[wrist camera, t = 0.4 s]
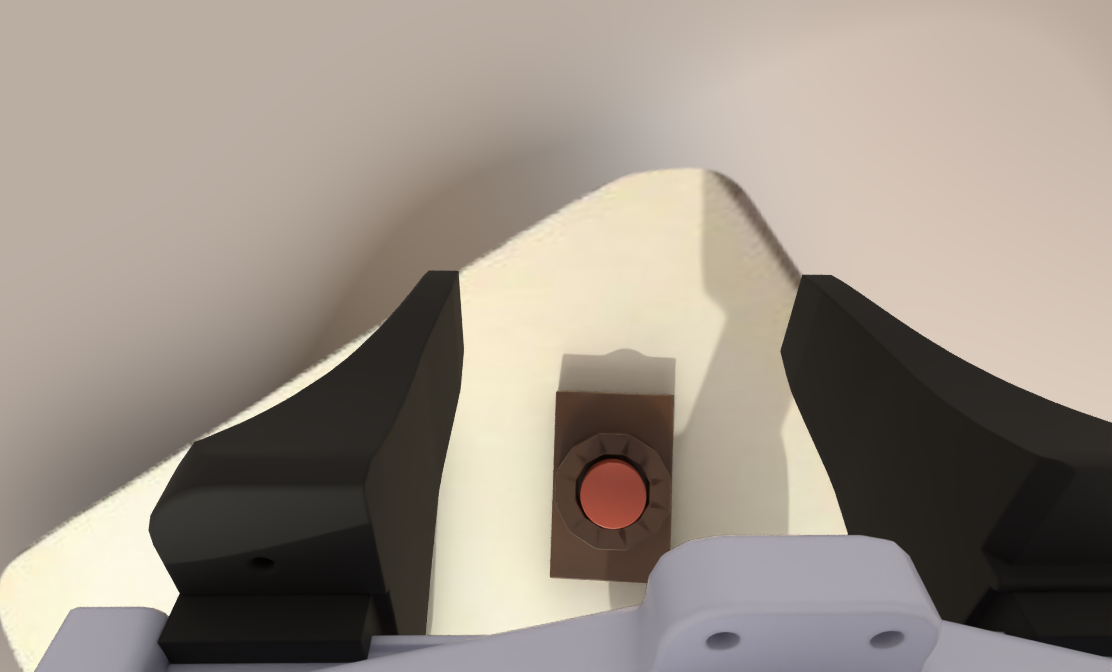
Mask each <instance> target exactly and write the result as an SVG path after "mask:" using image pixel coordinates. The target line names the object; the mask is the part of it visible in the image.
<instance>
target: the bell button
mask: <svg viewBox="0 0 1112 672" xmlns="http://www.w3.org/2000/svg"><path fill="white" fill-rule="evenodd" d="M580 500H581V504H582V507H583V510H584V512H585V513H586V515H587V516H588V517H589V518H590V519H591V520H592V521H593V522H594V523H595V524H597V525H599V526H601V527H604V528H608V529H619V528H623V527H626V526H628V525H630V524H632V523H633V522H634V521H636V520H637V519H638V518H639V516H640V515H641V513H642V512H643V510H644V507H645V503H646V489H645V485H644V483H643V480H642V478H641V476H640V474H639V473H638V471H637V470H636V469H635V468H634V467H633V466H632V465H630V464H629V463H627V462H625V461H622V460H619V459H605V460H602V461H599V462H597V463H596V464H594V465H593V466H592V467H591V468H590V469H589V470H588V471H587V472H586V474H585V476H584V478H583V480H582V484H581V490H580Z"/></svg>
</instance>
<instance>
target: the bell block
mask: <svg viewBox="0 0 1112 672" xmlns="http://www.w3.org/2000/svg"><path fill="white" fill-rule="evenodd" d="M673 413H674V396H673V395H670V394H643V393H614V392H585V391H557V392H556V409H555V440H554V470H553V500H552V530H551V560H550V578H561V579H580V580H599V581H618V582H636V583H648V578H649V575H650V573H651V572H652V570H653V568H654V567H655V565H656V564H657V562H658V561H659V559H660V558H661V556H662V555H664V554H665V553H666V552H668V551H670V542H671V499H672V456H673ZM605 459H619V460H622V461H625V462H627V463H629V464H630V465H632V466H633V467H634V468H635V469H636V470H637V471H638V473H639V474H640V476H641V478H642V480H643V483H644V485H645V489H646V503H645V507H644V510H643V512H642V513H641V515H640V516H639V518H638V519H637V520H636V521H634V522H633V523H632V524H630V525H628V526H626V527H623V528H619V529H608V528H604V527H601V526H599V525H597V524H595V523H594V522H593V521H592V520H591V519H590V518H589V517H588V516H587V515H586V513H585V512H584V510H583V507H582V504H581V500H580V490H581V484H582V480H583V478H584V476H585V474H586V472H587V471H588V470H589V469H590V468H591V467H592V466H593V465H594V464H596V463H597V462H599V461H602V460H605Z"/></svg>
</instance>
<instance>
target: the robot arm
mask: <svg viewBox="0 0 1112 672" xmlns="http://www.w3.org/2000/svg"><path fill="white" fill-rule="evenodd" d="M780 352H781V356H782V360H783V364H784V368H785V372H786V375H787V379H788V382H789V386H790V389H791V392H792V394H793V397H794V399H795V402H796V404H797V406H798V408H799V411H800V413H801V415H802V418H803V420H804V422H805V424H806V427H807V429H808V431H809V433H810V435H811V438H812V440H813V442H814V444H815V447H816V449H817V451H818V453H819V455H820V458H821V460H822V462H823V464H824V466H825V469H826V471H827V473H828V476H829V478H830V481H831V483H832V486H833V488H834V491H835V494H836V497H837V500H838V503H839V507H840V510H841V513H842V516H843V519H844V523H845V526H846V529H847V532H848V535H718V536H712V537H706V538H699V539H693V540H689V541H687V542H685V543H683V544H681V545H679V546H677V547H676V548H674V549H672V550H670V551H668V552H666V553H665V554H664V555H662V556H661V558H660V559H659V561H658V562H657V564H656V565H655V567H654V568H653V570H652V572H651V573H650V575H649V578H648V583H647V589H646V594H645V597H644V600H643V602H642V604H640V605H635V606H630V607H625V608H621V609H616V610H611V611H606V612H601V613H596V614H591V615H586V616H581V617H576V618H571V619H566V620H561V621H556V622H551V623H546V624H541V625H536V626H532V627H527V628H522V629H517V630H512V631H507V632H502V633H497V634H492V635H426V622H427V610H428V599H429V587H430V575H431V565H432V554H433V544H434V534H435V524H436V515H437V505H438V496H439V489H440V483H441V477H442V472H443V467H444V462H445V458H446V453H447V449H448V444H449V440H450V435H451V431H452V426H453V422H454V417H455V413H456V408H457V403H458V399H459V394H460V389H461V378H462V367H463V355H464V343H463V329H462V315H461V300H460V286H459V272H458V271H428V272H427V273H426V274H425V275H424V276H423V277H422V279H421V280H420V281H419V282H418V284H417V285H416V286H415V287H414V289H413V290H412V291H411V293H410V294H409V295H408V296H407V297H406V298H405V300H404V301H403V302H402V303H401V305H400V306H399V307H398V308H397V309H396V310H395V311H394V312H393V314H392V315H391V316H390V317H389V318H388V319H387V320H386V321H385V322H384V323H383V324H382V326H381V327H380V328H379V329H378V330H377V331H376V332H375V333H374V334H372V335H371V336H370V337H369V338H368V339H367V340H366V341H365V342H364V343H363V344H362V345H361V346H360V347H359V348H358V349H357V350H356V351H355V352H354V353H352V354H351V355H350V356H349V357H348V358H347V359H345V360H344V361H343V362H342V363H340V364H339V365H338V366H336V367H335V368H334V369H333V370H331V371H330V372H328V373H327V374H326V375H324V376H323V377H321V378H320V379H318V380H317V381H315V382H313V383H312V384H310V385H309V386H307V387H306V388H304V389H303V390H301V391H300V392H298V393H297V394H295V395H293V396H292V397H290V398H288V399H287V400H285V401H283V402H281V403H279V404H278V405H276V406H274V407H272V408H270V409H268V410H266V411H264V412H262V413H260V414H258V415H256V416H255V417H252V418H250V419H248V420H246V421H244V422H242V423H240V424H237V425H235V426H233V427H230V428H228V429H225V430H223V431H221V432H218V433H216V434H214V435H211V436H209V437H207V438H204V439H201V440H199V441H196V442H194V443H193V445H192V446H191V448H190V449H189V451H188V452H187V454H186V455H185V456H184V458H183V459H182V461H181V462H180V464H179V465H178V467H177V469H176V470H175V472H174V474H173V476H172V477H171V479H170V481H169V483H168V485H167V486H166V488H165V490H164V492H163V494H162V496H161V497H160V499H159V501H158V503H157V505H156V506H155V508H154V510H153V512H152V514H151V516H150V523H149V533H150V536H151V539H152V542H153V545H154V547H155V549H156V551H157V552H158V554H159V556H160V558H161V560H162V562H163V564H164V565H165V567H166V569H167V571H168V573H169V575H170V576H171V578H172V580H173V582H174V584H175V586H176V588H177V589H178V591H179V593H180V594H179V596H178V598H177V601H176V603H175V605H174V607H173V609H172V611H171V614H170V616H168V615H167V614H166V613H164V612H162V611H159V610H157V609H155V608H147V607H78V608H75V609H72V610H71V611H70V612H69V613H68V615H67V617H66V618H65V620H64V622H63V624H62V625H61V627H60V629H59V630H58V632H57V634H56V635H55V637H54V639H53V640H52V642H51V644H50V646H49V647H48V649H47V651H46V652H45V654H44V656H43V657H42V659H41V661H40V662H39V664H38V666H37V668H36V669H35V671H34V672H1112V423H1111V422H1108V421H1105V420H1102V419H1099V418H1096V417H1093V416H1091V415H1088V414H1085V413H1082V412H1079V411H1076V410H1073V409H1071V408H1068V407H1065V406H1063V405H1060V404H1058V403H1055V402H1053V401H1050V400H1047V399H1045V398H1043V397H1041V396H1038V395H1036V394H1034V393H1031V392H1029V391H1026V390H1024V389H1022V388H1019V387H1017V386H1015V385H1013V384H1011V383H1008V382H1006V381H1004V380H1002V379H1000V378H998V377H996V376H993V375H992V374H990V373H988V372H986V371H984V370H982V369H980V368H978V367H976V366H974V365H972V364H970V363H968V362H966V361H965V360H963V359H961V358H959V357H957V356H955V355H954V354H952V353H950V352H949V351H947V350H945V349H944V348H942V347H940V346H939V345H937V344H935V343H934V342H932V341H931V340H929V339H927V338H926V337H924V336H922V335H921V334H919V333H918V332H916V331H915V330H913V329H911V328H910V327H909V326H907V325H906V324H904V323H903V322H901V321H900V320H898V319H897V318H895V317H894V316H892V315H891V314H889V313H888V312H886V311H885V310H884V309H882V308H881V307H879V306H878V305H876V304H875V303H874V302H872V301H871V300H869V299H868V298H866V297H865V296H863V295H862V294H861V293H859V292H858V291H856V290H854V289H853V288H852V287H850V286H849V285H847V284H846V283H844V282H842V281H841V280H839V279H837V278H835V277H834V276H832V275H802V278H801V281H800V285H799V288H798V292H797V295H796V299H795V302H794V306H793V309H792V313H791V316H790V320H789V323H788V327H787V330H786V334H785V337H784V341H783V344H782V347H781V351H780Z"/></svg>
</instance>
